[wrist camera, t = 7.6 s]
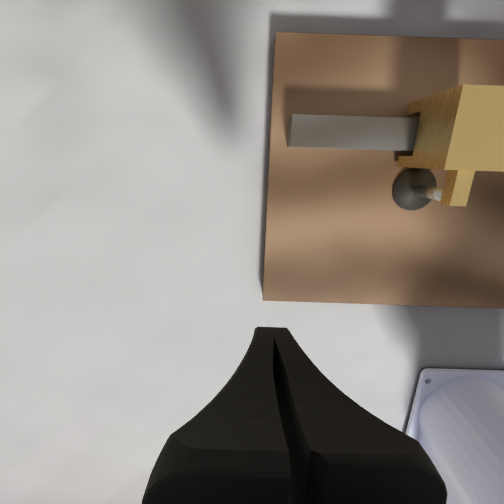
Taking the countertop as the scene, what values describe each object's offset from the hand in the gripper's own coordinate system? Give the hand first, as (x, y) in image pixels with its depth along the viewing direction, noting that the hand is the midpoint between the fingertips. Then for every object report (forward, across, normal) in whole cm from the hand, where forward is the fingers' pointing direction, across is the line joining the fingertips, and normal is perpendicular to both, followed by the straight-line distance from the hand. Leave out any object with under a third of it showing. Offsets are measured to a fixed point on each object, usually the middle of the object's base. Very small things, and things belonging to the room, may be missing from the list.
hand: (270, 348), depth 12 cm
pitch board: (+9, -10, -6) cm, 15 cm away
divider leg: (+8, -9, -8) cm, 15 cm away
